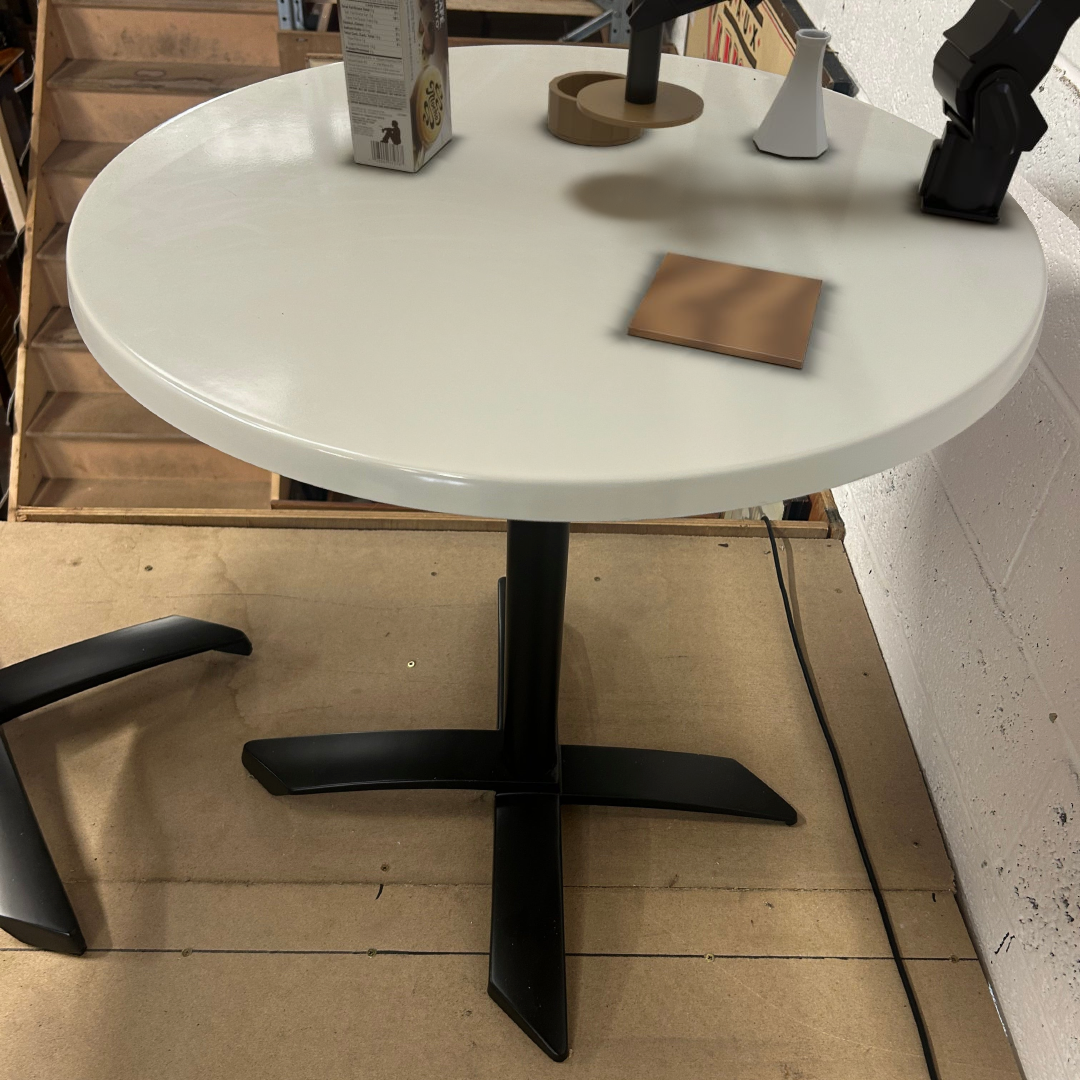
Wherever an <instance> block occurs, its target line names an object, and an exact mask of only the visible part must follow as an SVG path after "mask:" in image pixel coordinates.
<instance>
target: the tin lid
mask: <svg viewBox="0 0 1080 1080" xmlns="http://www.w3.org/2000/svg"><path fill="white" fill-rule="evenodd" d="M641 1H642V0H633V4H632V13H633V12H634V11H635V9H636V8H637V6H638V5H639V4H640V2H641ZM665 24H666V22H664V23H662V24H659V25H656V26H654V27H651V28H648V29H646V30H643V31H640V32H635V31H634V30H633V29H632V27H631V26H630V31H629V42H628V52H627V53H628V54H627V65H626V74H625V75H626V79H615V80H607V81H602V82H597V83H594V84H591V85H588V86H586V87H585V88H583V89H582V90H580V92H579V93H578V95H577V106H578V108H579V110H580V111H581V112H582V113H584V114H585V115H587V116H589V117H591V118H593V119H595V120H598V121H601V122H604V123H608V124H612V125H616V126H622V127H629V128H643V129H650V130H653V129H668V128H669V129H670V128H675V127H680V126H684V125H688V124H691V123H693V122H695V121H696V120H698V119H699V118H700V117H701V116H703V113H704V109H705V102H704V99H703V98H702V97H701V95H699V94H698V93H697V92H695V91H694V90H691V89H689V88H687V87H684V86H682V85H678V84H675V83H672V82H666V81H662V80H659V78H660V69H661V62H662V52H663V51H662V50H663V42H664V33H665Z"/></svg>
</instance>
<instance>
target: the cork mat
mask: <svg viewBox="0 0 1080 1080" xmlns="http://www.w3.org/2000/svg"><path fill="white" fill-rule="evenodd" d="M822 284H823V280H822V279H818V278H813V277H807V276H802V275H801V276H800V275H795V274H790V273H785V272H780V271H774V270H768V269H762V268H757V267H752V266H751V267H750V266H745V265H741V264H734V263H730V262H723V261H718V260H712V259H706V258H702V257H695V256H690V255H684V254H678V253H672V252H666V254H665V255H664V257H663V260H662V261H661V263H660V265H659V267H658V269H657V270H656V273H655V275H654V277H653V279H652V280H651V283H650V284H649V286H648V288H647V290H646V292H645V294H644V296H643V298H642V299H641V301H640V304H639V306H638V307H637V310H636V311H635V313H634V315H633V317H632V319H631V321H630V323H629V325H628V326H627V335H631V336H635V337H640V338H645V339H651V340H655V341H660V342H665V343H670V344H675V345H676V344H677V345H680V346H685V347H690V348H695V349H700V350H705V351H710V352H716V353H720V354H726V355H731V356H735V357H741V358H746V359H751V360H755V361H761V362H765V363H771V364H776V365H779V366H780V365H781V366H785V367H789V368H790V367H791V368H794V369H802V368H803V364H804V360H805V356H806V352H807V348H808V343H809V339H810V337H811V336H810V335H811V331H812V326H813V323H814V318H815V314H816V311H817V310H816V309H817V306H818V302H819V297H820V293H821V290H822V289H821V288H822Z"/></svg>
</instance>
